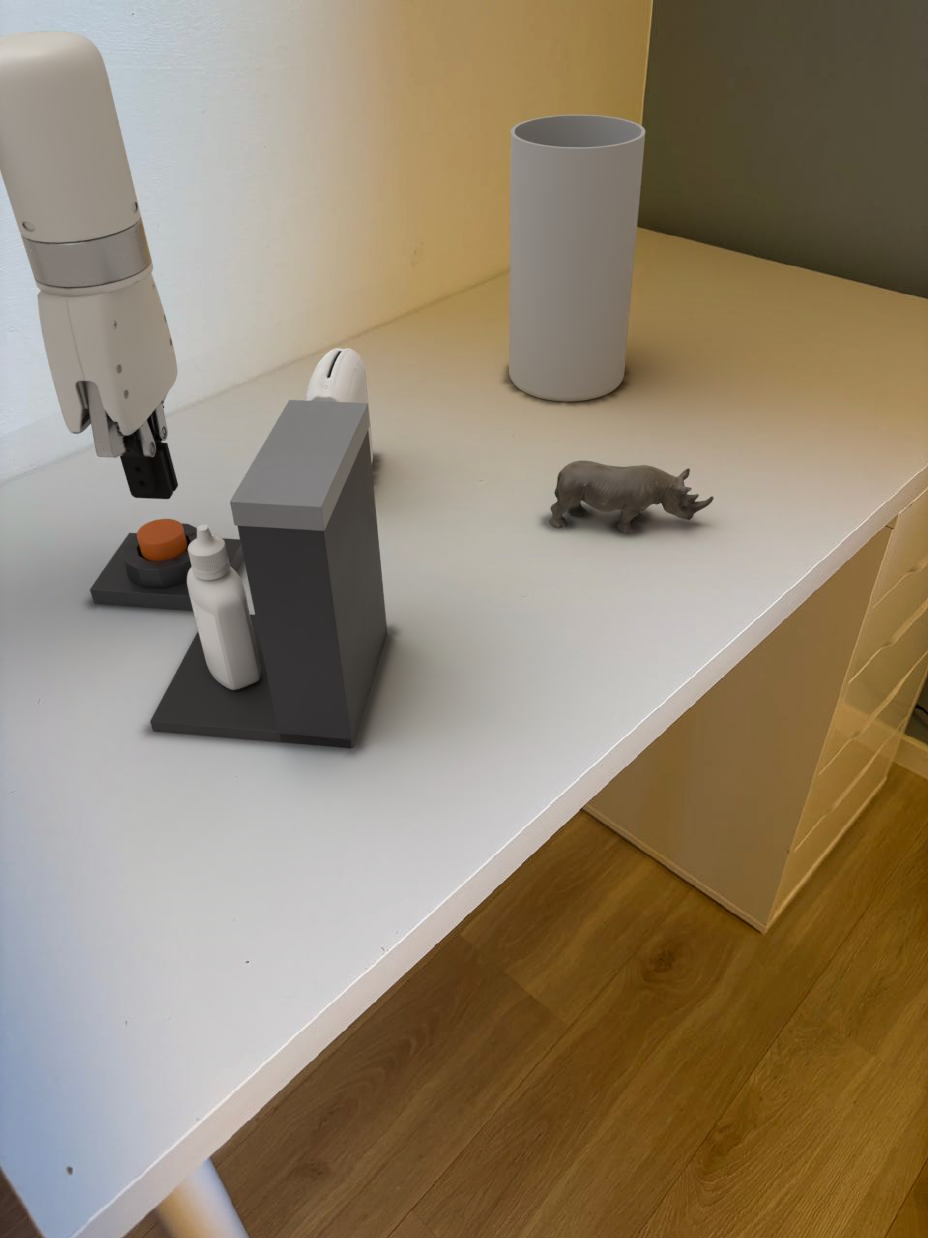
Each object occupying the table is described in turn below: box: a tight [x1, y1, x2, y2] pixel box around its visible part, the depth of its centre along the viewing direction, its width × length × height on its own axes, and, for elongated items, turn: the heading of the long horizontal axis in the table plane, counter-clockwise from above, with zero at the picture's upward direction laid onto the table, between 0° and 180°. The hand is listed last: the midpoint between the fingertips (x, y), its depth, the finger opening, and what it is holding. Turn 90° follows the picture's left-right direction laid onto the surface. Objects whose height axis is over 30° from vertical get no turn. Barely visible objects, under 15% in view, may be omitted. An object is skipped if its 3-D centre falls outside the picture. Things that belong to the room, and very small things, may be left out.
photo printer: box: [305, 347, 374, 464], centre depth 89 cm, size 10×4×12 cm, turn 175°
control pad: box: [89, 522, 244, 612], centre depth 81 cm, size 10×8×4 cm
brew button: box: [136, 518, 187, 561], centre depth 79 cm, size 4×4×2 cm
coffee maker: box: [149, 399, 388, 749], centre depth 66 cm, size 14×12×19 cm
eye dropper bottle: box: [187, 524, 261, 690], centre depth 68 cm, size 4×6×12 cm
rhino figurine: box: [548, 459, 715, 535], centre depth 85 cm, size 4×14×6 cm, turn 82°
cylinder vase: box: [508, 114, 646, 403], centre depth 101 cm, size 12×12×25 cm
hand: (155, 492), depth 76 cm, fingers closed
